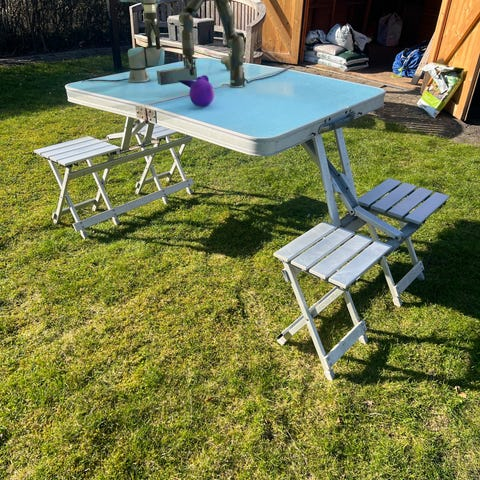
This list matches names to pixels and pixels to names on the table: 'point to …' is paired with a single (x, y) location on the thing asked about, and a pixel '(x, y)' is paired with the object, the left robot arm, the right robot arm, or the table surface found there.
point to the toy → (200, 91)
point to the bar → (175, 75)
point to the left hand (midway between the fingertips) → (154, 48)
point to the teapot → (227, 60)
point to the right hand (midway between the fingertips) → (190, 74)
